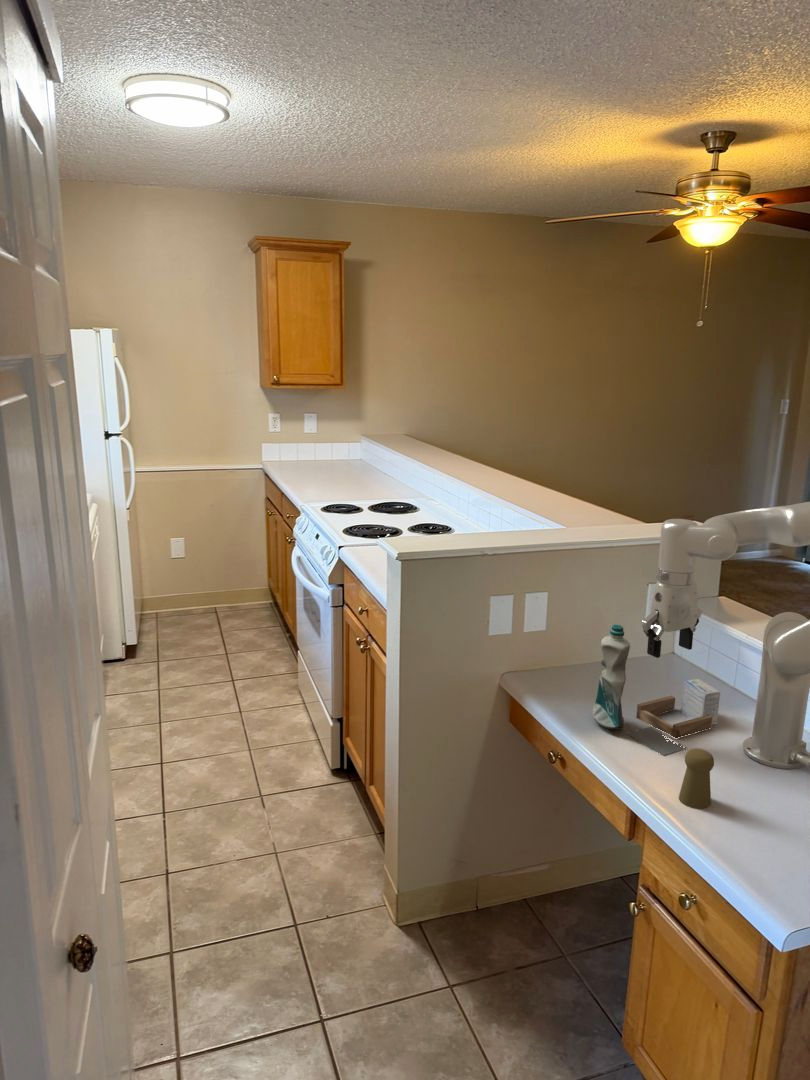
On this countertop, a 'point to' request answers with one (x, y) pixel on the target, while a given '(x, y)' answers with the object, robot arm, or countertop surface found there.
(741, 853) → the countertop surface
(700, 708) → the medicine box
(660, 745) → the stand pad
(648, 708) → the frame
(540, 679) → the countertop surface
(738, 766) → the countertop surface
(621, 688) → the detergent
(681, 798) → the olive pawn figure
